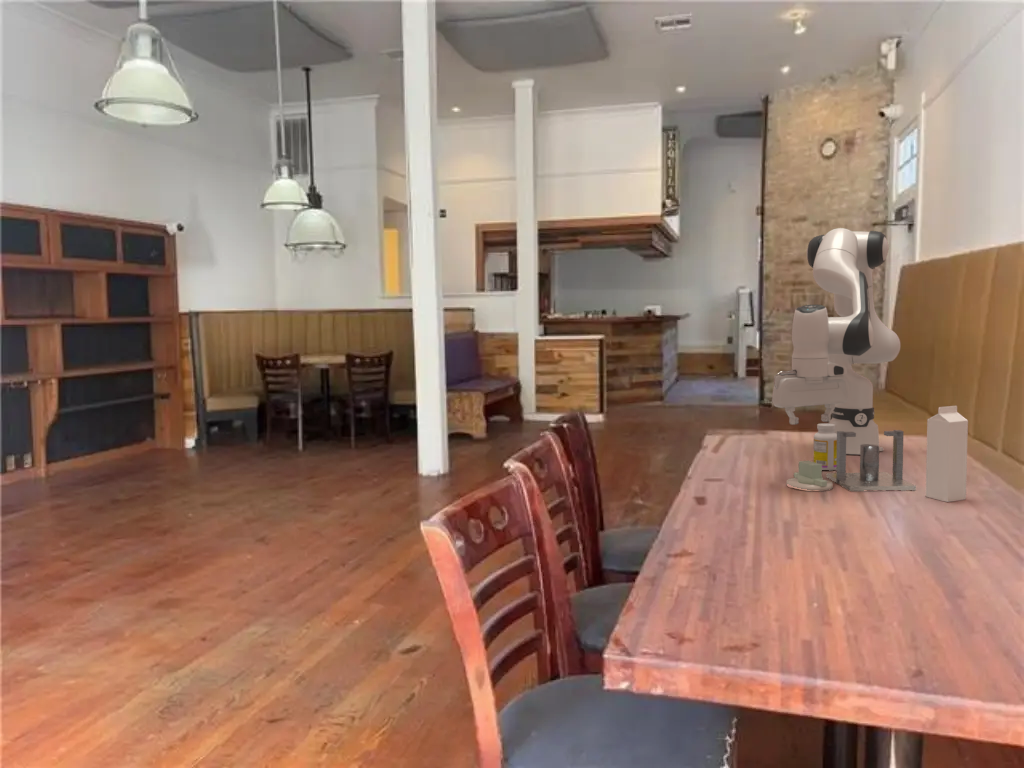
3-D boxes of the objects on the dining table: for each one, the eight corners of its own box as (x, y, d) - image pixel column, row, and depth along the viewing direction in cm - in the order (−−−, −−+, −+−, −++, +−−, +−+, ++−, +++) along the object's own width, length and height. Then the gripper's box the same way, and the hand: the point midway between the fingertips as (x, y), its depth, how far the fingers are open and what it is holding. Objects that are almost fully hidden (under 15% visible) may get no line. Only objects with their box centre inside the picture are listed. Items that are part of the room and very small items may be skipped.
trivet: (780, 482, 198) (780, 477, 198) (823, 481, 198) (823, 477, 198) (794, 491, 187) (794, 487, 187) (839, 491, 187) (839, 486, 187)
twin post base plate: (826, 477, 202) (826, 427, 201) (886, 476, 202) (887, 425, 200) (850, 491, 186) (851, 436, 185) (915, 490, 186) (917, 435, 184)
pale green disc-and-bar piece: (806, 476, 199) (806, 458, 198) (834, 485, 188) (834, 466, 187) (786, 478, 197) (786, 459, 197) (813, 487, 186) (813, 467, 186)
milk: (925, 497, 179) (926, 405, 177) (943, 494, 181) (945, 404, 180) (948, 502, 174) (949, 408, 172) (966, 499, 176) (968, 406, 174)
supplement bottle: (834, 466, 216) (834, 422, 215) (842, 471, 209) (842, 426, 208) (810, 466, 217) (810, 422, 216) (817, 471, 210) (817, 426, 209)
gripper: (781, 372, 184) (781, 427, 186) (852, 367, 189) (852, 421, 191) (767, 370, 190) (767, 424, 192) (836, 366, 195) (835, 418, 197)
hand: (810, 422), depth 191 cm, fingers open, 8 cm apart
